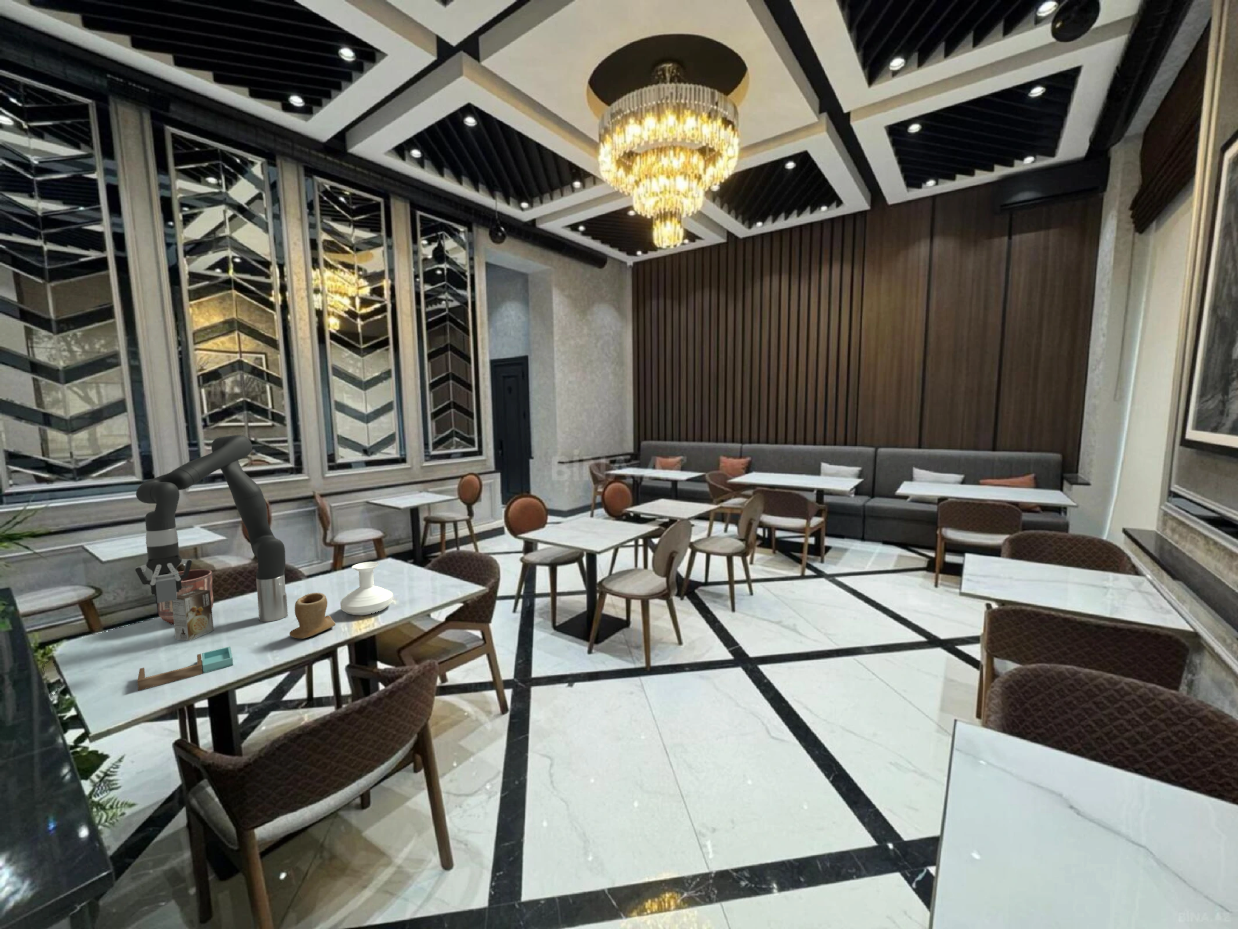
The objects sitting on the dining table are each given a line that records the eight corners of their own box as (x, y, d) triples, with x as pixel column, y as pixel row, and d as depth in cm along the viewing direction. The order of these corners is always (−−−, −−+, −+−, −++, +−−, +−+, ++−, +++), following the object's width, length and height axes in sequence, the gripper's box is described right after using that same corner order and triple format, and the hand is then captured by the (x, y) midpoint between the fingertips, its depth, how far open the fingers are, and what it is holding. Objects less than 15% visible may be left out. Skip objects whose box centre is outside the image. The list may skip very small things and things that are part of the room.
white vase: (354, 623, 190) (351, 576, 188) (332, 611, 202) (329, 566, 200) (402, 608, 205) (401, 564, 204) (379, 597, 217) (378, 556, 216)
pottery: (148, 623, 190) (144, 579, 189) (202, 607, 206) (199, 566, 204) (170, 631, 183) (167, 585, 181) (224, 615, 199) (221, 572, 197)
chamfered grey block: (177, 593, 163) (175, 573, 162) (176, 599, 157) (175, 578, 156) (158, 596, 160) (156, 575, 159) (157, 603, 154) (155, 581, 153)
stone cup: (304, 644, 172) (301, 603, 171) (285, 637, 177) (282, 598, 176) (344, 628, 185) (342, 590, 184) (325, 622, 191) (323, 585, 189)
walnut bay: (201, 662, 159) (201, 653, 159) (202, 673, 152) (201, 664, 151) (140, 677, 149) (139, 668, 149) (138, 690, 142) (137, 681, 142)
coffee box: (200, 629, 185) (197, 588, 183) (214, 630, 183) (211, 589, 182) (174, 639, 176) (170, 597, 174) (188, 641, 174) (184, 598, 173)
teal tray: (230, 653, 165) (230, 646, 165) (233, 665, 157) (232, 658, 157) (202, 660, 160) (201, 653, 160) (203, 673, 152) (202, 665, 152)
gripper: (191, 537, 164) (195, 585, 166) (132, 544, 155) (137, 595, 156) (191, 541, 159) (196, 591, 160) (130, 548, 149) (135, 602, 150)
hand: (167, 593), depth 158 cm, fingers closed on chamfered grey block, 4 cm apart
